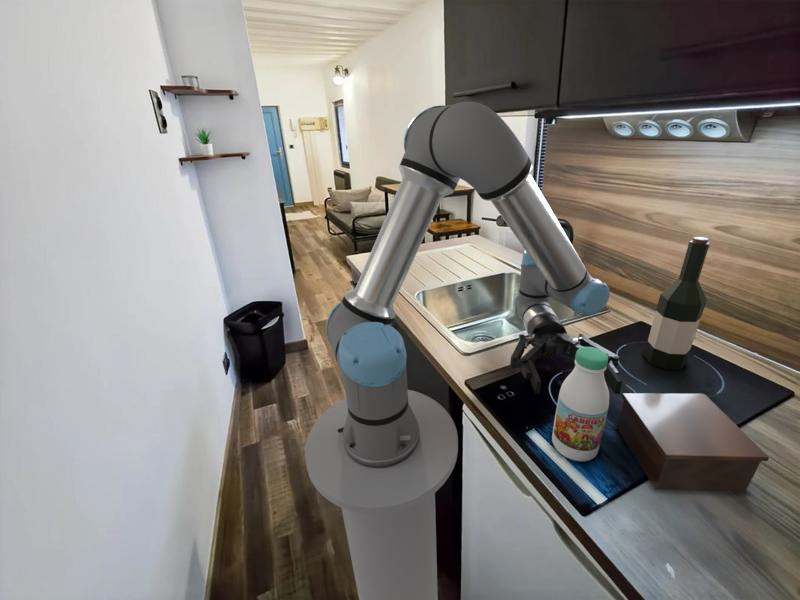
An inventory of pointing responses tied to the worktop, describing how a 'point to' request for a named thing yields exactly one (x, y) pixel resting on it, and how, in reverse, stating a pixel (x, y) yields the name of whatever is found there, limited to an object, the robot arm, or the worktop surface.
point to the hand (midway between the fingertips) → (578, 387)
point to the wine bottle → (679, 312)
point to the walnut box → (687, 443)
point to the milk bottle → (582, 407)
